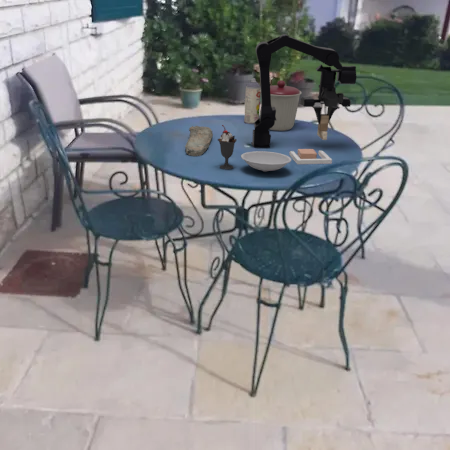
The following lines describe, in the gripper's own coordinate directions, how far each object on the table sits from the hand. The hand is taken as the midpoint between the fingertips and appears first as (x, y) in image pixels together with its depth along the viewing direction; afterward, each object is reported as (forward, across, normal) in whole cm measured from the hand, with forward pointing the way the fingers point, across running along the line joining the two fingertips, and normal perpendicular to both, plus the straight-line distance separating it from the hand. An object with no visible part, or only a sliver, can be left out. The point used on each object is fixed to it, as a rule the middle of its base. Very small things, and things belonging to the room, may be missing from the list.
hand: (323, 123), depth 219 cm
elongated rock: (+11, -48, +9) cm, 50 cm away
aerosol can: (+10, -20, +42) cm, 47 cm away
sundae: (+10, -42, -22) cm, 48 cm away
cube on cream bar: (+6, 0, 0) cm, 6 cm away
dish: (+10, -29, -27) cm, 41 cm away
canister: (+10, -10, +31) cm, 34 cm away
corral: (+10, -9, -14) cm, 19 cm away
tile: (+10, -9, -12) cm, 18 cm away
